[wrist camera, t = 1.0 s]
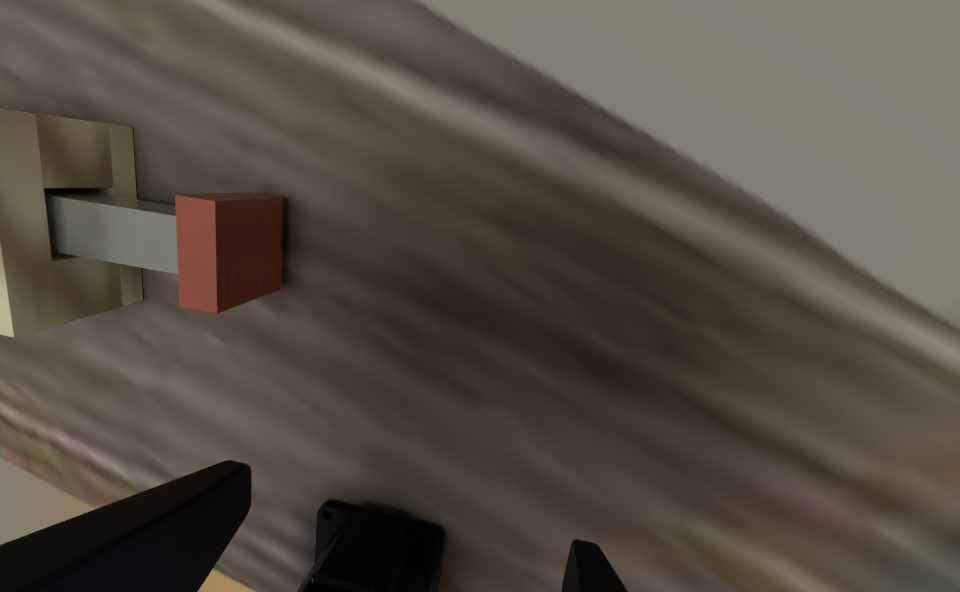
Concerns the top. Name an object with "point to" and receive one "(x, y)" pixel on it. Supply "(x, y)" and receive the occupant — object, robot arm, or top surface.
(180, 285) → the pin
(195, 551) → the robot arm
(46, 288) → the block
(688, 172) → the top surface
